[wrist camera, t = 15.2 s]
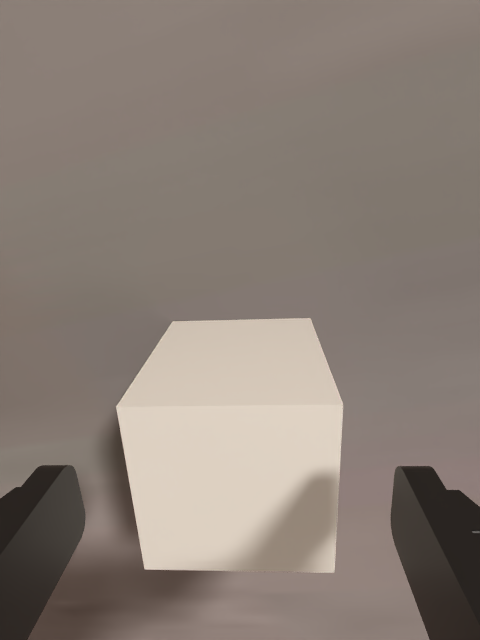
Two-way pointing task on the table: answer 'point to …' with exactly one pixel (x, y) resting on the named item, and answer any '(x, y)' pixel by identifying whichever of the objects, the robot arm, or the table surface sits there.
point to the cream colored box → (235, 448)
